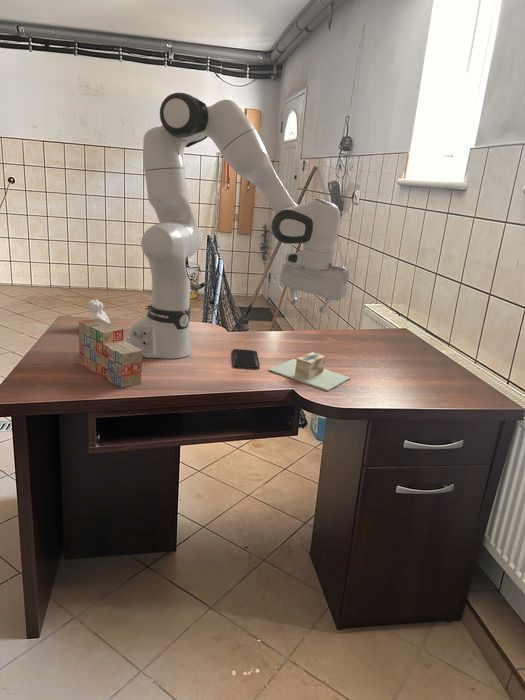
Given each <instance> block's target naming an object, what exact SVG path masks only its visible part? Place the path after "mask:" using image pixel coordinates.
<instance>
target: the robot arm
mask: <svg viewBox="0 0 525 700" xmlns="http://www.w3.org/2000/svg"><path fill="white" fill-rule="evenodd" d="M160 104H161V105H160V108H159V118H160V122H161V126H155V127H152V128H150V129H148V130H147V131H146V132H145V134H144V136H143V142H142V143H143V144H142V157H143V159H142V160H143V170H144V177H145V184H146V190H147V191H146V192H147V199H148V202H149V204H150V205H151V206H152V208H153V209H154V211H155V214H156V217H157V219H158V221H159V223H158V222H157V223H156V224H154V225H152V226H151V227H149V228H147V230H145V231H144V233H143V235H142V236H141V241H140V247H141V250H142V253H143V254H144V256H145V257H146V258H147V261H148V264H149V268H150V273H151V285H152V286H151V288H152V289H151V304H149V305H144V307H145V308H144V310H145V311H146V310H147V314H146V315H145V316H144V317H142V318H141V319H140V320H138V321H136V322H135V323H133V324H132V325H131V327H130V332H129V336H128V337H125V338H123V341H125V342H127V343H129V344H131V345H133V346H135V347H137V348H139V349H141V350H143V353H142V357H144V358H147V359H150V358H151V359H152V358H158V359H159V358H160V359H180V358H185V357H189V356H190V355H191V354H192V352H193V351H192V346H191V345H192V344H191V339H190V338H191V337H190V319H191V307H190V299H191V298H190V297H191V280H190V279H189V277H188V274H187V268H186V258H191V257H192V256H193V255H194V254H195V253H197V251H199V249H200V248H201V247H202V244H203V241H204V239H203V234H202V231H201V228H199V226H198V225H197V223H196V218H195V216H194V215H195V214H194V212H193V209H192V207H191V203H190V197H189V193H188V185H187V178H186V177H187V176H186V169H185V167H186V166H185V162H184V160H185V159H184V150H185V148H189V147H191V146H193V145H196V144H199V143H201V142H203V141H205V140H206V139H207V138H209V139H210V140H211V141H213V143H214V144H215V146H216V148H217V149H218V150H219V152H220V153H221V155H222V157H223V159H224V160H225V161H226V163H227V164H228V165H229V166H230V168H231V169H232V170H233V171H234V172H235V173H236V174H237V175H238V176H240V177H241V178H244V179H245V180H246V181H249V182H250V183H252V184H253V185H254V186H256V188H257V189H258V190H259V191H260V192H261V194H262V195H263V197H264V198H265V200H266V201H267V203H268V204H269V206H270V208H271V209H272V211H273V212H274V213H275V215H274V217H273V218H272V221H271V231H272V232H271V233H272V235H273V237H275V239H276V240H277V241H278V242H280V243H282V244H285V245H294V244H302V251H297V252H291V253H290V252H289V253H286V254H285V257H284V260H285V262H284V263H283V265H282V267H281V272H280V276H279V282H280V285H281V286H283V287H286V288H289V293H290V297H291V301H290V302H291V305H295V306H298V305H299V301H300V298H298V296H297V292H298V291H299V292H304V293H308V294H311V295H314V296H318V297H322V298H324V302H325V303H324V305H320V306H319V313H322V314H326V313H327V312H328V311H327V310H328V308H329V307H330V305H331V304H332V303H333V301H336V302H339V301H342V300H345V298H346V296H347V289H348V281H349V276H350V273H349V271H348V270H347V269H346V267H344V266H341V265H340V266H339V265H337V264H334V257H335V252H336V251H335V245H336V244H335V243H336V240H337V238H338V234H339V230H340V219H341V212H340V209H339V207H338V206H337V205H336V204H335V203H333V202H330V201H328V200H324V199H322V198H313V200H311V201H308V202H306V203H303V204H298V203H297V202H296V201H294V199H293V198H292V196H291V195H290V193H289V192H288V190H287V189H286V187H285V186H284V184H283V182H282V180H281V179H280V177H279V176H278V175H277V173H276V170H275V168H274V166H273V163H272V161H271V159H270V156H269V153H268V152H267V149H266V147H265V144H264V143H263V140H262V139H261V136H260V135H259V133H258V131H257V129H256V128H255V126H254V125H253V123H252V122H251V120H250V119H249V117H248V116H247V115H246V113H245V112H244V111H243V110H242V109H241V108H240V107H239V105H238V103H236V102H235V101H233V100H232V99H222V100H218V101H217V102H215V103H214V104H212V105H211V106H207V105H206V102H203V101H202V100H200V99H198V98H197V97H195V96H192V95H191V94H188V93H185V92H174V93H171V94H169V95H167V96H166V97H165V98H164V99H163V101H162V103H160Z"/></svg>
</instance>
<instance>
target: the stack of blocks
mask: <svg viewBox="0 0 525 700" xmlns="http://www.w3.org/2000/svg"><path fill="white" fill-rule="evenodd" d="M123 339H124V329H122V328H121V327H119V326H117V325H115V324H112V323H111V322H110V323H108V322H106V321H104V320H102V319H100V318H98V319H90V320H89V319H84V320H78V342H79V344H78V345H79V349H78V350H79V354H78V355H79V358H78V359H79V363H80V364H81V365H83V366H84V367H86V368H87V369H89V370H90V371H92V372H93V373H95V374H98V375H99V376H100V377H102V378H104V379H106V380H107V381H109V382H110V383H112V384H113V385H115V386H116V387H118V388H119V389H123V388H127V387H131V386H136V385H139V384H141V383H142V369H143V368H142V367H143V364H142V361H143V356H142V353H143V350H141V349H139V348H137V347H135V346H133V345H131V344H129V343H127V342H125V341H123Z"/></svg>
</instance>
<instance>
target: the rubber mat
mask: <svg viewBox="0 0 525 700" xmlns="http://www.w3.org/2000/svg"><path fill="white" fill-rule="evenodd" d="M296 362H297V358H296V359H294V358H292V359H290V360H286V361H284V362H282V363H280V364H278V365H274V366H272V367H270V368H268V369H267V371H268V370H270V371H272V372H271V373H273V372H275V373H274V374H276V373H279V374H281V375H280V376H282V375H284V376H283V377H285V376H287V377H286V378H288V377H289V378H288V379H290V378H292V379H291V380H293V379H295V380H294V381H296V380H298V381H297V382H299V381H300V382H299V383H302V382H303V384H305V385H308V386H310V387H314V388H316V389H320V390H323V391H326V392H329V391H331V390H334V389H335V388H337V387H339V386H341V385H342V384H344V383H346V382H347V381H349V380H351V377H350V376H347V375H346V374H345V375H344V374H341V373H339V372H334V371H332V370H329V369H326V368H324V370H323V372H322V373H320V374H318V375H316V376H314V377H312V378H310V379H306V378H303V377H300V376H297V375H295V369H296ZM270 371H269V372H270ZM279 374H278V375H279Z"/></svg>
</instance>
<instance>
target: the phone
mask: <svg viewBox="0 0 525 700" xmlns="http://www.w3.org/2000/svg"><path fill="white" fill-rule="evenodd" d="M231 356H232V362H233V363H232V364H233V365H232V366H233V368H235V369H242V368H245V369H246V368H247V369H246V370H260V365H261V364H260V361H259V355H258V352H257V351H256V350H254V349H253V350H251V349H238V348H236V349H235V348H234V349H232V352H231Z"/></svg>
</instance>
